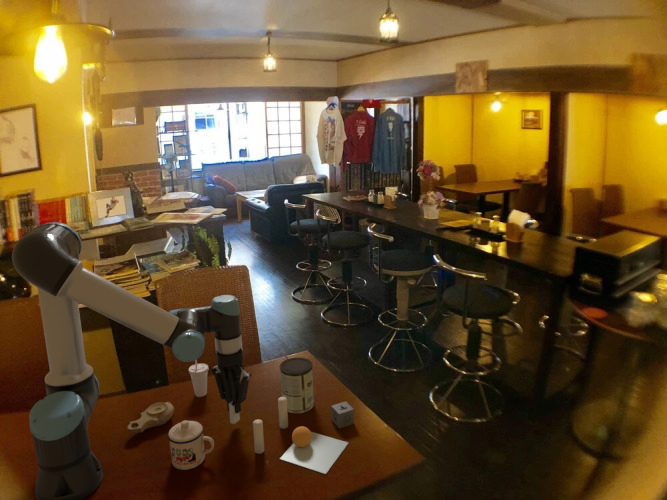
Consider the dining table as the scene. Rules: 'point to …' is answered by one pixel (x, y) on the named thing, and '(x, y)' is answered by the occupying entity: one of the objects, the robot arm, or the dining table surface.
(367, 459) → the dining table surface
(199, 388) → the smoothie
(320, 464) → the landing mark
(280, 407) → the post
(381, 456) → the dining table surface
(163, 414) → the oil lamp
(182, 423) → the teacup with lid
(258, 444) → the post
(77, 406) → the robot arm
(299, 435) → the ball
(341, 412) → the dice cube
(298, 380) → the coffee can
